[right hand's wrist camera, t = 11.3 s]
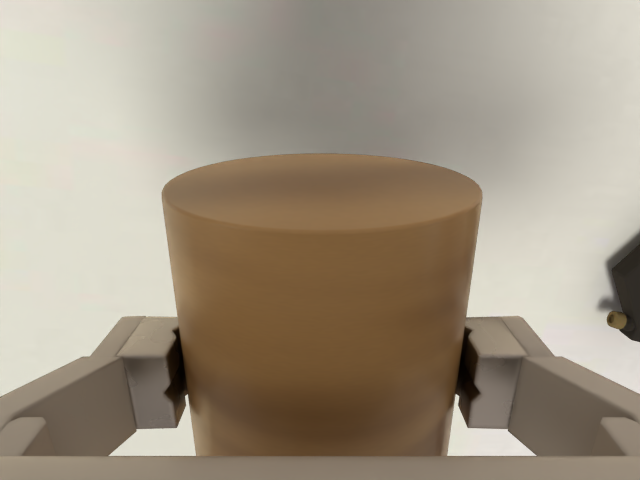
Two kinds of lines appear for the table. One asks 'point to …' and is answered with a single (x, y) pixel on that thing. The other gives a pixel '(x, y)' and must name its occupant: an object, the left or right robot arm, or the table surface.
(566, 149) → the table surface
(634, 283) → the spray gun
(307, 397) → the rod
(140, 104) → the table surface
